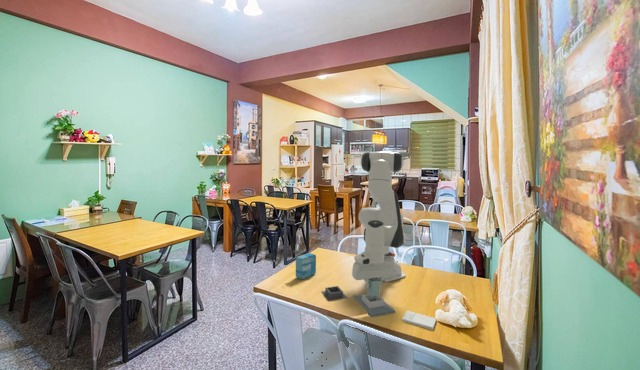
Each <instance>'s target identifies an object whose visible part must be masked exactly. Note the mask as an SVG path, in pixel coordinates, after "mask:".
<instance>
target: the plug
mask: <svg viewBox="0 0 640 370" xmlns="http://www.w3.org/2000/svg"><path fill="white" fill-rule="evenodd" d="M368 283H370V284H371V285H370V288H367V287H366V288H367V289H366V290H367V291H366V294H369V295H370V296H371V297H374V296H380V287H381V286H380V280H378V278H371V279H369V281H368Z"/></svg>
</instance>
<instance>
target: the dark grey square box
mask: <svg viewBox="0 0 640 370" xmlns="http://www.w3.org/2000/svg"><path fill="white" fill-rule="evenodd" d="M321 294H322V295H323V296H324V297H325V299H326V300H327V301H328V302H331V301H337V300H338V301H339V300H343V299H348V296H347V295H346V294H345V293H344V291H343V290H342V289H341V288H340V286H338V285H336V286H335V285H334V286H328V287H325V289H324V290H323V291H321Z"/></svg>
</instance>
